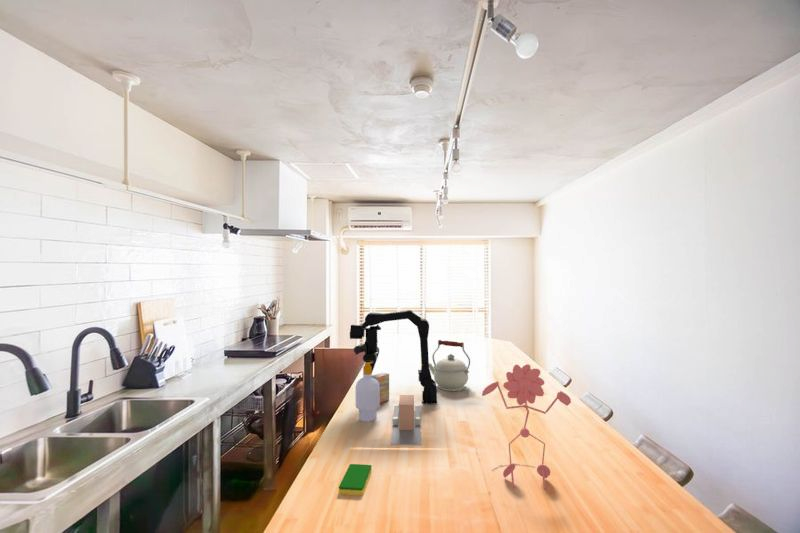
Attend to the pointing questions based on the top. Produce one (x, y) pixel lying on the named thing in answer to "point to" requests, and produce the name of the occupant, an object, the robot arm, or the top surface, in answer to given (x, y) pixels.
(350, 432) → the top surface
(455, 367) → the kettle
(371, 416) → the soap bottle
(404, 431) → the chute
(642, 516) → the top surface
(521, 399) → the figurine
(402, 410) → the block
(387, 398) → the supplement box
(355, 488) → the dish sponge
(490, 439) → the top surface
